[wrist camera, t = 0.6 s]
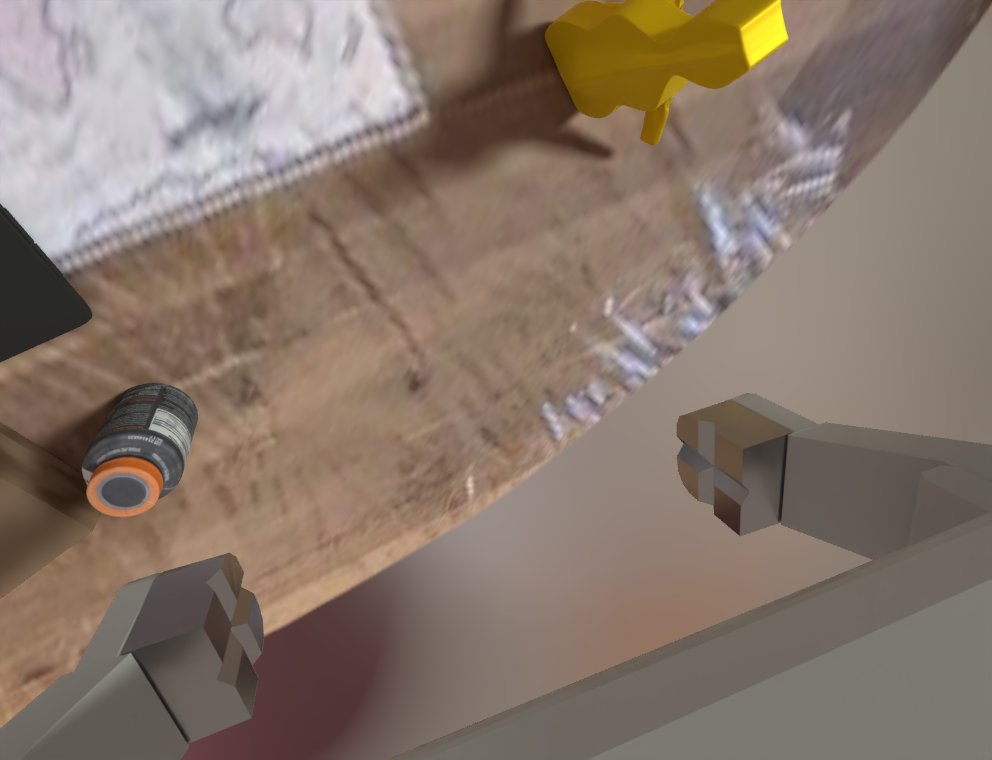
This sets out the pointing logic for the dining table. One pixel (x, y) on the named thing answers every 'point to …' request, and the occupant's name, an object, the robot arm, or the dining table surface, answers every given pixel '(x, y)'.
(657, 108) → the figure statuette
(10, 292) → the smart home device
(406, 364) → the dining table surface
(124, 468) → the pill bottle
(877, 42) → the dining table surface
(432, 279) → the dining table surface
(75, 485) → the walnut holder
